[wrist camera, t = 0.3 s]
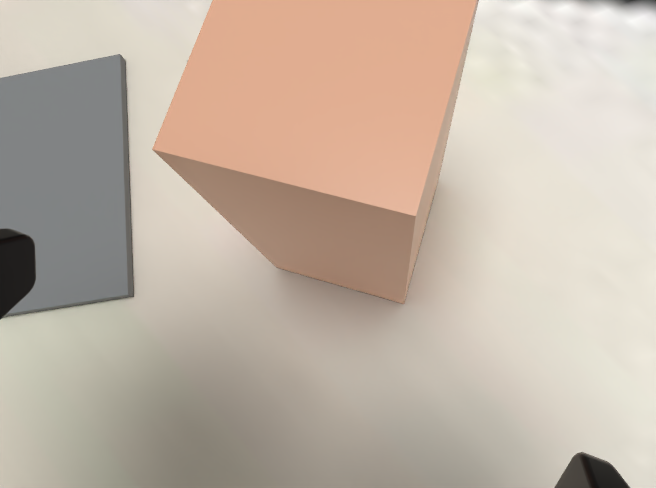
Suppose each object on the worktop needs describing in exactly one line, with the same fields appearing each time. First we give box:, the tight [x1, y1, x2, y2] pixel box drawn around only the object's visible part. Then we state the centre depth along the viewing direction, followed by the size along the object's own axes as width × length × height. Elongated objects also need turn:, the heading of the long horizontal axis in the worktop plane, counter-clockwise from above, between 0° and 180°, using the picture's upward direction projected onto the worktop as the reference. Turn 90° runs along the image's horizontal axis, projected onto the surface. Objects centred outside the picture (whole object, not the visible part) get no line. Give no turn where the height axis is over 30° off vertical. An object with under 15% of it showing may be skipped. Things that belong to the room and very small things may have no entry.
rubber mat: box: [0, 54, 134, 317], centre depth 25 cm, size 12×11×1 cm
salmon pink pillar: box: [152, 0, 479, 304], centre depth 17 cm, size 6×6×12 cm
